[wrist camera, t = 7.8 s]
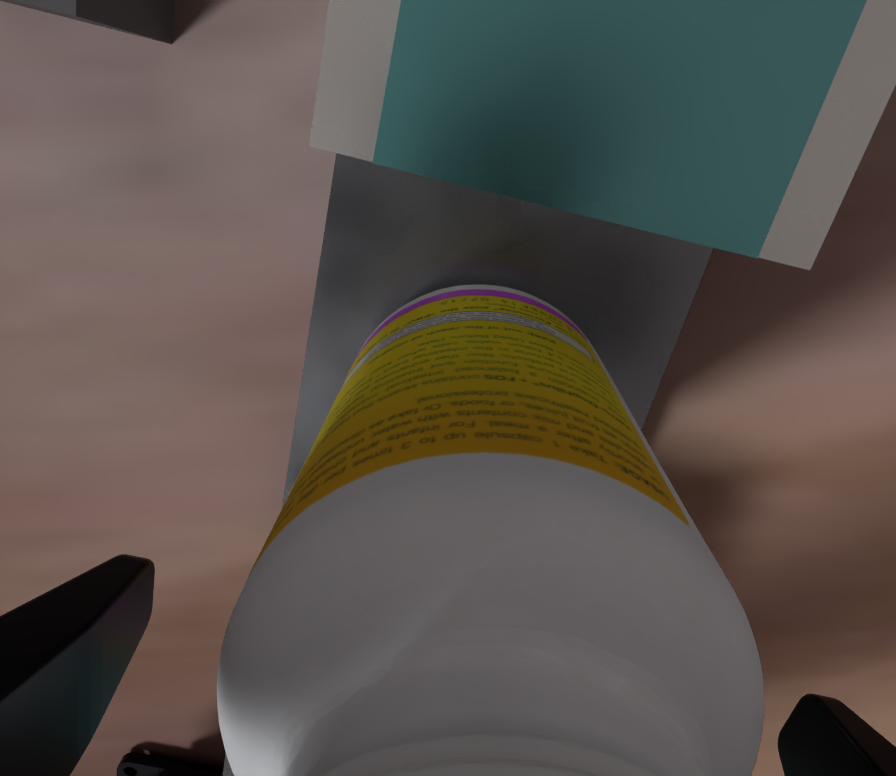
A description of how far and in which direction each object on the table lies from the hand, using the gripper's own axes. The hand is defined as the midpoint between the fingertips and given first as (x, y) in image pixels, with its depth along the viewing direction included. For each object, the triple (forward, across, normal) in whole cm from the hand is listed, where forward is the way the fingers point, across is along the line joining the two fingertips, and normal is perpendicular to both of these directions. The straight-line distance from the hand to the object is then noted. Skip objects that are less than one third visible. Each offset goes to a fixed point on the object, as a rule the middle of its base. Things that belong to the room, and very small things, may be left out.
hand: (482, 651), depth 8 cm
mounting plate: (+10, 0, 0) cm, 10 cm away
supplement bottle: (+9, 0, 0) cm, 9 cm away
